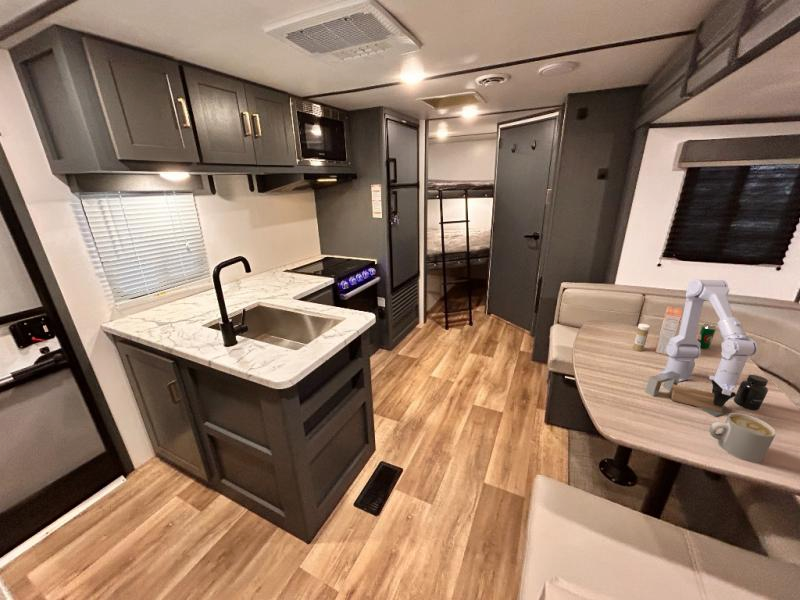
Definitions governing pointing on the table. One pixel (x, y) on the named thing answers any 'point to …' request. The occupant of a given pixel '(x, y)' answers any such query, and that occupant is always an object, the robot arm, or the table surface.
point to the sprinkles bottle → (641, 337)
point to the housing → (656, 382)
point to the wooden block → (694, 397)
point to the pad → (716, 413)
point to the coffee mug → (744, 436)
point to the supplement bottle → (751, 392)
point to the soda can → (706, 335)
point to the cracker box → (668, 328)
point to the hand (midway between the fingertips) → (716, 401)
